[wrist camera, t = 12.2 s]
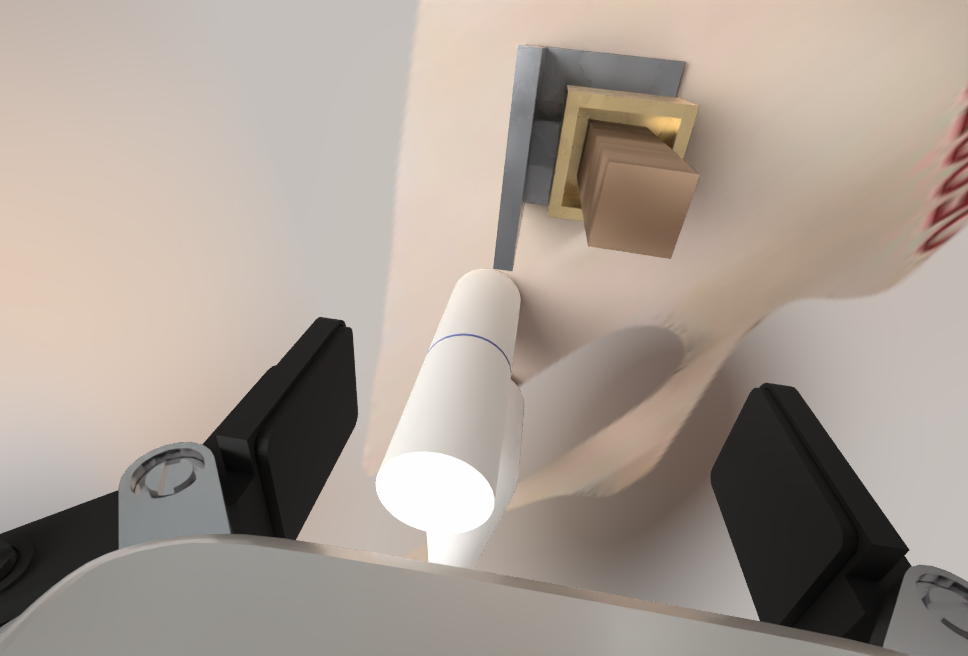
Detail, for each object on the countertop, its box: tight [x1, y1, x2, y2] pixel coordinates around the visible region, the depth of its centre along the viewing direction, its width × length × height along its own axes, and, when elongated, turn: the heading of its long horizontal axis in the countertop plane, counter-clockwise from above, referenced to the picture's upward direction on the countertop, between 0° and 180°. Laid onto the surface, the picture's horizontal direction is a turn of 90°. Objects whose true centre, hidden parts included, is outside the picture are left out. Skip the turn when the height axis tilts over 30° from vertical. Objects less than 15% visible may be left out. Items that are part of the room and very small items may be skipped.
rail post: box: [577, 119, 700, 259], centre depth 28 cm, size 4×4×14 cm
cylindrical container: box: [376, 268, 521, 534], centre depth 38 cm, size 7×7×25 cm
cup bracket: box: [493, 45, 699, 271], centre depth 33 cm, size 12×12×16 cm
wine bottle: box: [426, 380, 524, 570], centre depth 43 cm, size 10×10×30 cm
